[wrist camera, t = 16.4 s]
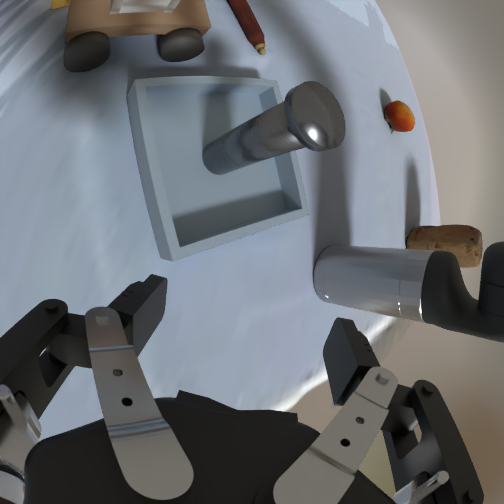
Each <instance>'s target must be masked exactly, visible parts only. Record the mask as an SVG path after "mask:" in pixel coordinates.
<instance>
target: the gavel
mask: <svg viewBox="0 0 504 504" xmlns="http://www.w3.org/2000/svg"><path fill="white" fill-rule="evenodd" d="M228 1H229V3H230V5H231V7H232V9H233V10H234V12H235V14H236V16H237V18H238V20H239V22H240V24H241V27H242V29H243V31H244V33H245V35H246V37H247V39H248V41H249V42H250V43H251V44H252V45H253V46H254V47H255V49H257V50H259V53H260V54H261V55H264V54H266V50H265V49H264V47H265V41H264V34H263V32H262V30H261V28H260V26H259V24H258V22H257V20H256V18H255V16H254V14H253V12H252V10H251V8H250V6H249V5H248V3H247V1H246V0H228Z"/></svg>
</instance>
